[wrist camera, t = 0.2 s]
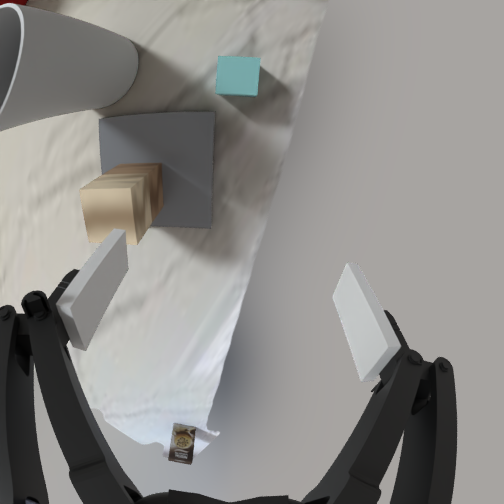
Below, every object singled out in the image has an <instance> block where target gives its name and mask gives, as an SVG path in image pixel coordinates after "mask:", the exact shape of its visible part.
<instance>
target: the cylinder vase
mask: <svg viewBox="0 0 504 504" xmlns="http://www.w3.org/2000/svg"><path fill="white" fill-rule="evenodd" d="M137 71H138V53H137V50H136V48H135V46H134V45H133V43H132V42H131V41H130V40H129V39H127V38H126V37H124V36H121V35H119V34H117V33H114V32H112V31H109V30H107V29H104V28H101V27H99V26H96V25H93V24H90V23H88V22H85V21H82V20H79V19H75V18H72V17H69V16H66V15H62V14H59V13H55V12H51V11H47V10H43V9H39V8H34V7H29V6H24V5H19V4H13V3H7V4H3V5H1V6H0V131H3V130H6V129H9V128H12V127H16V126H19V125H22V124H26V123H29V122H33V121H37V120H41V119H45V118H49V117H54V116H58V115H63V114H68V113H73V112H79V111H85V110H91V109H98V108H103V107H107V106H109V105H111V104H113V103H115V102H116V101H118V100H119V99H120V98H121V97H123V96H124V95H125V93H126V92H127V91H128V90H129V88H130V87H131V85H132V84H133V82H134V80H135V77H136V74H137Z"/></svg>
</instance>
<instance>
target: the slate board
mask: <svg viewBox="0 0 504 504" xmlns="http://www.w3.org/2000/svg"><path fill="white" fill-rule="evenodd" d="M214 131H215V112H207V111H194V112H162V113H146V114H135V115H125V116H116V117H108V118H102V119H99V141H100V157H101V169H102V175H103V174H104V173H106V172H107V171H109V170H111V169H112V168H114V167H116V166H117V165H119V164H129V163H162V184H163V204H164V207H163V208H162V209H161V211H160V212H159V214H158V215H157V216H156V218H155V219H154V221H153V222H152V224H151V225H150V226H165V227H189V228H210V229H211V226H212V186H213V154H214Z"/></svg>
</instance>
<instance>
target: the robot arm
mask: <svg viewBox="0 0 504 504" xmlns="http://www.w3.org/2000/svg"><path fill="white" fill-rule="evenodd" d="M127 271H128V258H127V245H126V230H122V229H115V228H114V229H113V230H112V231H111V233H110V234H109V235H108V236H107V237H106V238H105V240H104V241H103V242H102V243H101V244H100V246H99V247H98V248H97V249H96V251H95V252H94V253H93V254H92V256H91V257H90V258H89V259H88V261H87V262H86V263H85V264H84V266H83V267H82V268H81V270H76V269H74V270H72V271H71V272H69V273H68V274H66V276H65V277H64V278H63V279H62V282H60V283H59V285H58V287H56V289H55V290H54V292H53V293H52V294H51V296H50V297H49V298H48V299H47V297H46V294H45V293H44V292H42V291H38V290H37V291H32V292H30V293H28V294H27V295H25V296H24V298H23V299H22V303H21V305H22V308H23V310H24V312H25V314H17V313H16V311H15V309H14V307H13V306H11V305H5V306H2V307H1V308H0V504H49V500H48V493H47V489H46V484H45V480H44V475H43V471H42V466H41V461H40V455H39V448H38V442H37V433H36V424H35V411H34V383H33V382H34V364H35V368H36V372H37V377H38V381H39V385H40V389H41V393H42V396H43V400H44V403H45V406H46V409H47V413H48V416H49V419H50V421H51V424H52V427H53V430H54V432H55V435H56V438H57V440H58V443H59V445H60V448H61V450H62V452H63V455H64V457H65V459H66V461H67V463H68V466H69V469H70V471H69V477H70V480H71V482H72V484H73V486H74V488H75V490H76V492H77V493H78V495H79V497H80V499H81V500H82V502H83V504H377V502H378V500H379V498H380V496H381V490H380V489H379V484H380V482H381V480H382V478H383V477H384V474H385V472H386V471H387V468H388V466H389V464H390V462H391V460H392V458H393V456H394V453H395V451H396V448H397V446H398V444H399V441H400V439H401V436H402V434H403V431H404V437H403V444H402V450H401V457H400V462H399V467H398V472H397V477H396V481H395V485H394V490H393V493H392V497H391V501H390V504H451V501H452V494H453V487H454V479H455V469H456V454H457V409H456V393H455V382H454V373H453V367H452V365H451V363H450V362H449V361H448V360H447V359H445V358H443V357H438V358H437V359H436V360H435V361H434V362H433V363H431V362H427V361H424V360H423V358H422V356H421V355H420V354H419V353H418V352H416V351H414V350H411V349H409V347H408V345H407V343H406V341H405V339H404V337H403V335H402V333H401V331H400V329H399V327H398V325H397V323H396V321H395V319H394V317H393V316H392V315H391V314H390V313H389V312H388V311H387V310H383V309H382V307H381V305H380V303H379V301H378V299H377V298H376V296H375V294H374V292H373V290H372V288H371V286H370V285H369V283H368V281H367V279H366V277H365V276H364V274H363V272H362V270H361V269H360V267H359V266H358V264H356V263H349V262H347V263H346V266H345V268H344V271H343V273H342V275H341V278H340V280H339V282H338V285H337V287H336V289H335V291H334V294H333V296H332V298H333V301H334V303H335V306H336V309H337V312H338V315H339V317H340V320H341V323H342V326H343V329H344V332H345V335H346V338H347V341H348V344H349V346H350V349H351V353H352V356H353V359H354V362H355V365H356V368H357V371H358V374H359V377H360V381H361V382H365V381H374V379H375V378H376V377H377V376H378V375H380V378H381V381H380V382H379V383H378V384H377V385H376V386H375V387H374V388H373V389H372V391H371V392H373V391H374V390H375V391H374V393H373V395H372V397H371V399H370V401H369V403H368V405H367V407H366V409H365V411H364V413H363V414H362V416H361V418H360V420H359V422H358V424H357V425H356V427H355V429H354V431H353V433H352V434H351V436H350V437H349V439H348V441H347V442H346V444H345V446H344V447H343V449H342V451H341V453H340V454H339V455H338V457H337V458H336V460H335V461H334V463H333V464H332V466H331V467H330V469H329V470H328V472H327V473H326V475H325V476H324V477H323V479H322V480H321V481H320V483H319V484H318V485H317V486H316V487H315V488H314V489H313V490H312V491H311V492H309V493H308V494H307V495H306V496H305V498H304V499H303V500H302V501H301V502H299V501H296V500H292V499H288V495H285V496H266V497H256V498H252V499H247V500H242V501H237V502H225V501H221V500H217V499H214V498H211V497H207V496H204V495H201V494H197V493H188V492H182V491H176V490H169V492H163V493H156V494H152V495H149V496H146V497H144V498H143V496H142V495H141V493H140V492H139V491H138V490H137V488H136V486H135V485H134V484H133V482H132V481H131V480H130V479H129V477H128V476H127V475H126V474H125V472H124V471H123V469H122V468H121V466H120V464H119V463H118V461H117V459H116V458H115V456H114V454H113V452H112V451H111V449H110V447H109V445H108V443H107V442H106V440H105V438H104V436H103V434H102V432H101V430H100V428H99V426H98V424H97V422H96V420H95V418H94V416H93V413H92V411H91V409H90V407H89V404H88V402H87V400H86V397H85V395H84V393H83V390H82V388H81V385H80V382H79V380H78V377H77V374H76V372H75V369H74V366H73V363H72V360H71V357H70V354H69V351H68V348H67V346H66V345H67V343H68V341H69V339H70V342H71V344H72V346H73V347H75V348H78V349H81V350H84V351H86V350H87V348H88V346H89V343H90V341H91V339H92V337H93V335H94V333H95V331H96V329H97V327H98V325H99V323H100V321H101V319H102V317H103V315H104V313H105V311H106V309H107V307H108V305H109V303H110V301H111V300H112V298H113V296H114V294H115V292H116V290H117V289H118V287H119V285H120V283H121V281H122V280H123V278H124V276H125V274H126V273H127Z"/></svg>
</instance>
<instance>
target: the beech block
mask: <svg viewBox="0 0 504 504" xmlns="http://www.w3.org/2000/svg"><path fill="white" fill-rule="evenodd" d="M79 191H80V197H81V203H82V209H83V215H84V220H85V225H86V230H87V235H88V239H89V242H93V243H102V242H103V241H104V240H105V238H106V237H107V236H108V235H109V234H110V233H111V231H112V230H113V229H114V228H115V229H122V230H126V244H130V245H138V243H139V242H140V240H141V239H142V237H143V236H144V234H145V233H146V231H147V230H148V228H149V227H150V225H151V224H152V217H151V205H150V192H149V174H148V173H135V174H109V175H101V176H99V177H98V178H96V179H95V180H93V181H92V182H90V183H89V184H87V185H86V186H84V187H83V188H81V189H80V190H79Z"/></svg>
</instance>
